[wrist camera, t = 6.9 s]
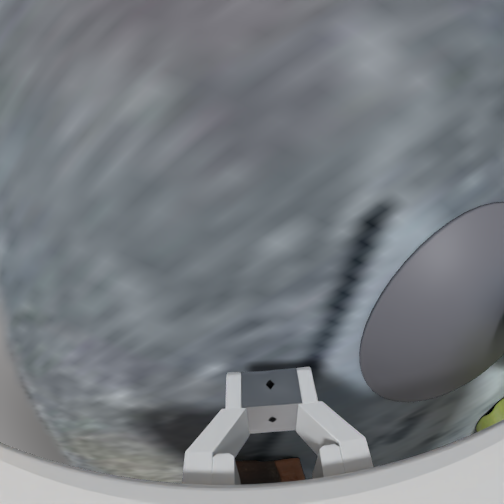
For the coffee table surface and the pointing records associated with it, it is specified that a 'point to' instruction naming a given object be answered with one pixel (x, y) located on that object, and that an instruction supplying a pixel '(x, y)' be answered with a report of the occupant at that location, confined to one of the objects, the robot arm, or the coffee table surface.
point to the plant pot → (492, 416)
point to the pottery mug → (269, 471)
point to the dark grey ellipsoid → (440, 312)
